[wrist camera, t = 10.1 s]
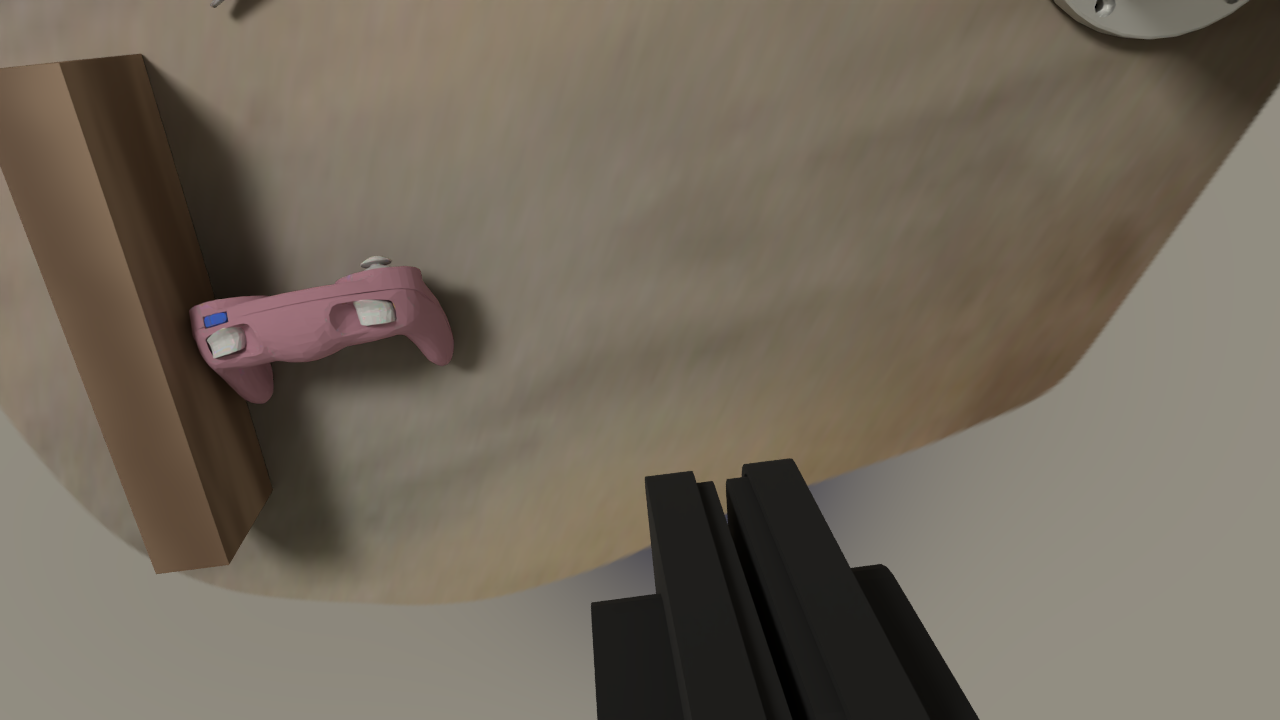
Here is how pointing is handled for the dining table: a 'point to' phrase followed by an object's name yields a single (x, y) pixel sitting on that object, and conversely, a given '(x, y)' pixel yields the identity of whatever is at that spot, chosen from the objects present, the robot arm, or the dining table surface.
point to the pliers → (216, 3)
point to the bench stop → (132, 300)
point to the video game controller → (318, 324)
